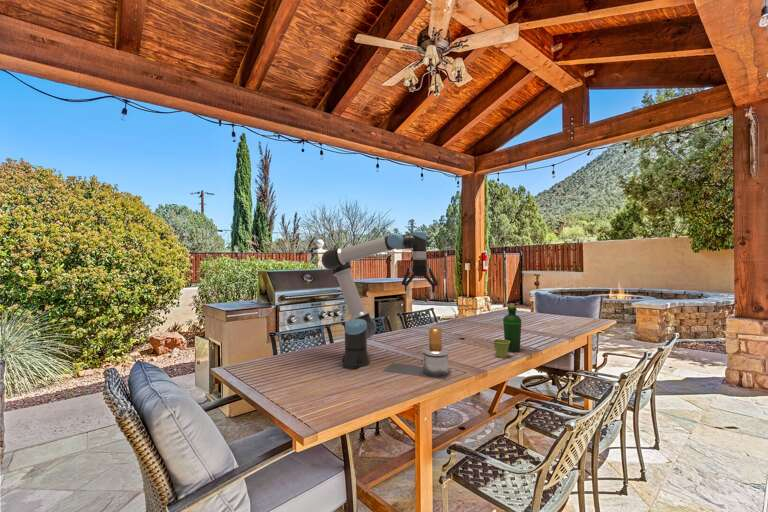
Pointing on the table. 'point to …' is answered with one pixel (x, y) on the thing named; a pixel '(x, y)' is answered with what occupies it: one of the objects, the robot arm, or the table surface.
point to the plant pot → (501, 347)
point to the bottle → (512, 329)
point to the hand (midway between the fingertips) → (419, 298)
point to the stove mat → (410, 370)
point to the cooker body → (435, 365)
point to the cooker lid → (435, 344)
